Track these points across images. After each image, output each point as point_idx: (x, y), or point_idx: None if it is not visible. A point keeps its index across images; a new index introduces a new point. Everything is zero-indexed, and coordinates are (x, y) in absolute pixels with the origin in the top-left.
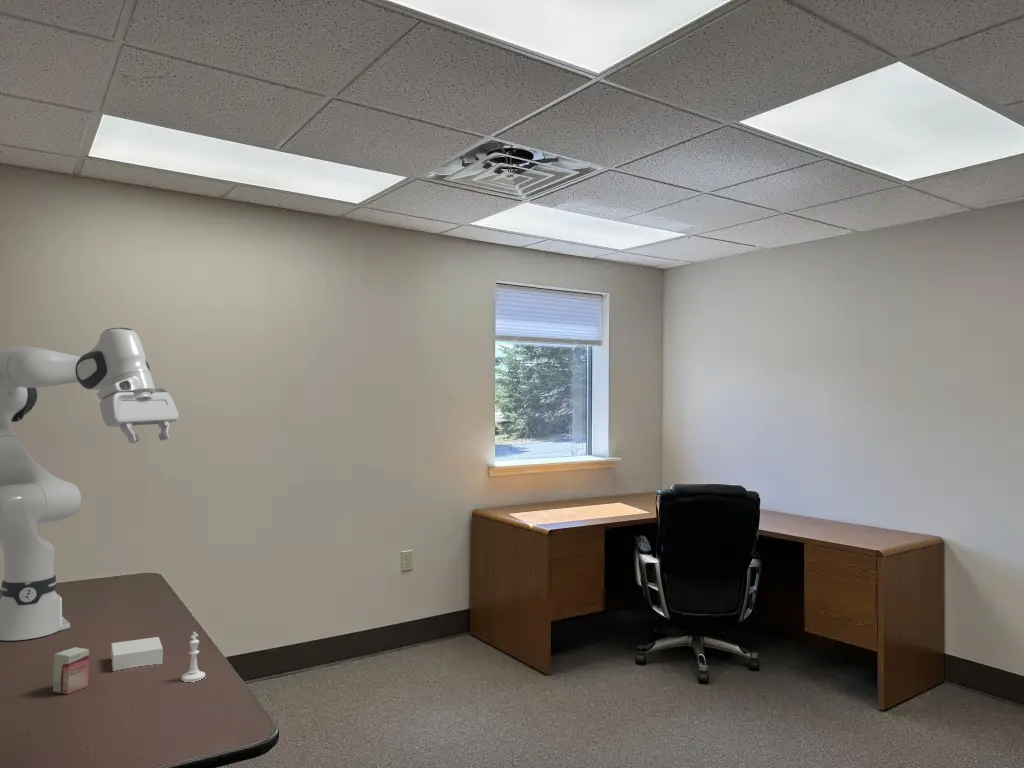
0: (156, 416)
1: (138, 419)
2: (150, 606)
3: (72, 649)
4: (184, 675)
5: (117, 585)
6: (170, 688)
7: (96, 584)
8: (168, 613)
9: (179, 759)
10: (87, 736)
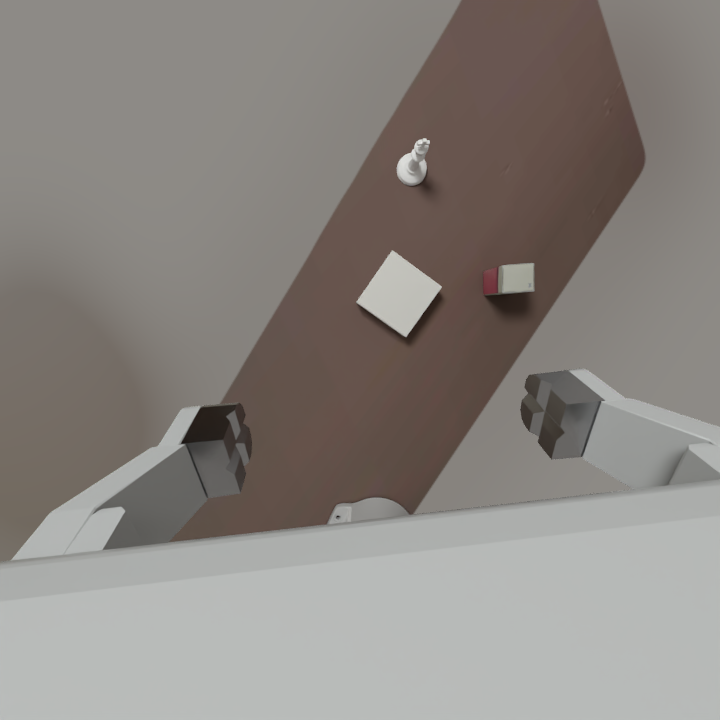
0: (259, 593)
1: (689, 497)
2: None
3: (513, 284)
4: (421, 174)
5: None
6: (448, 169)
7: None
8: None
9: None
10: (584, 136)
